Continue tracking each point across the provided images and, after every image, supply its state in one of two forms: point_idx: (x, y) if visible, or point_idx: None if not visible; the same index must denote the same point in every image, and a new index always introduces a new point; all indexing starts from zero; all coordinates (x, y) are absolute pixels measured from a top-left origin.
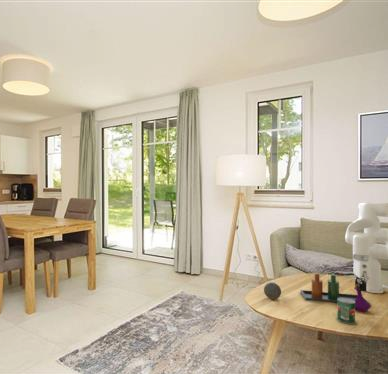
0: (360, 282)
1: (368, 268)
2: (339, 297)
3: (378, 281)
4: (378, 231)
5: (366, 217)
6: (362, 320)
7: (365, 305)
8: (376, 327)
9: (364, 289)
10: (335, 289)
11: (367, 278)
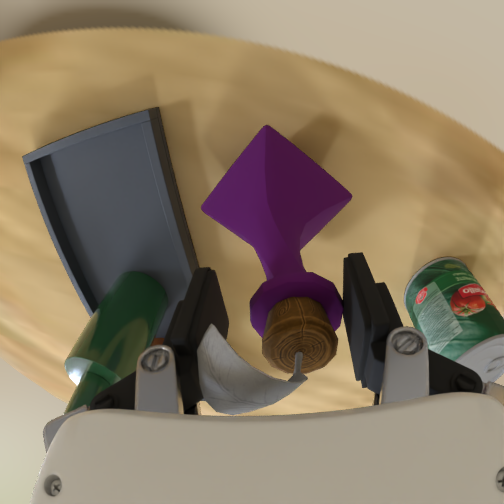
0: (377, 396)
1: None
2: (98, 261)
3: None
4: None
5: None
6: (426, 214)
7: (320, 183)
8: (490, 175)
9: (382, 289)
10: (143, 344)
11: (417, 410)
